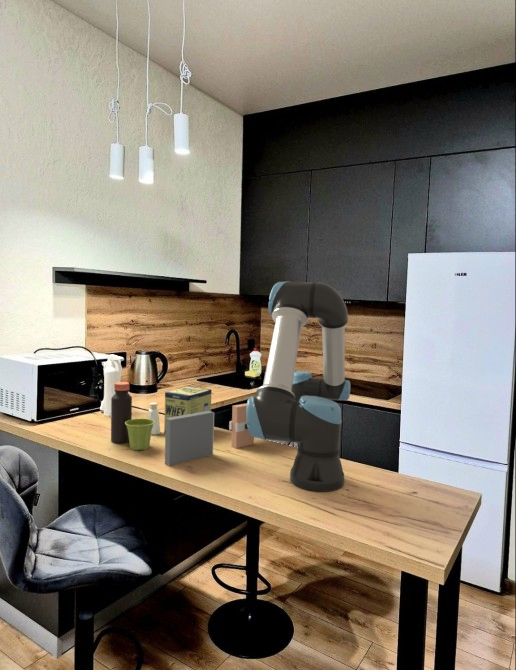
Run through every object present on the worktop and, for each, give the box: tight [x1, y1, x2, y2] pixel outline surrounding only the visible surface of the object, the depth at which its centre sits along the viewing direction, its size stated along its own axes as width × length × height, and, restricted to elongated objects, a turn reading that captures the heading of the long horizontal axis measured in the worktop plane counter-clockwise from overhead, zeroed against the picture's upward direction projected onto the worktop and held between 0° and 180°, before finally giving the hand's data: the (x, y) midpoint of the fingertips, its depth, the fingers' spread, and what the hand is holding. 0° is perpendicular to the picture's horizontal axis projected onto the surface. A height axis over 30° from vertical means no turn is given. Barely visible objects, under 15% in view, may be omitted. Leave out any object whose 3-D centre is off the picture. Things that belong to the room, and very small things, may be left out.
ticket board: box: [164, 410, 215, 467], centre depth 148 cm, size 16×3×14 cm, turn 133°
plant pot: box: [125, 418, 154, 451], centre depth 158 cm, size 9×9×9 cm
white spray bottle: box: [99, 354, 125, 417], centre depth 198 cm, size 7×12×25 cm, turn 56°
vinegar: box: [110, 381, 133, 444], centre depth 164 cm, size 7×7×20 cm
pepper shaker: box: [147, 402, 161, 436], centre depth 175 cm, size 5×5×11 cm
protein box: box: [163, 385, 212, 434], centre depth 178 cm, size 10×16×16 cm
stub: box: [230, 402, 255, 449], centre depth 163 cm, size 8×2×14 cm, turn 133°
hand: (233, 426), depth 160 cm, fingers closed on stub, 2 cm apart
